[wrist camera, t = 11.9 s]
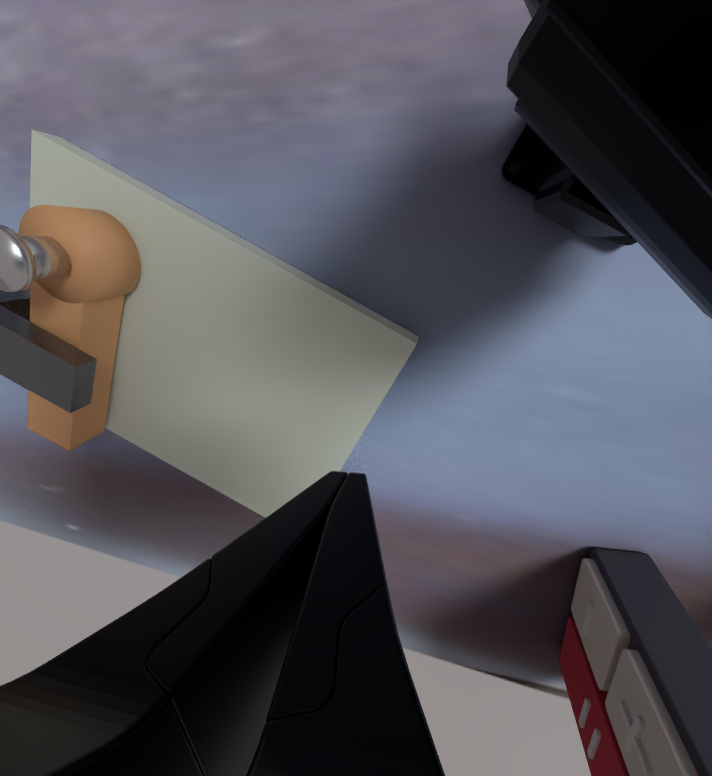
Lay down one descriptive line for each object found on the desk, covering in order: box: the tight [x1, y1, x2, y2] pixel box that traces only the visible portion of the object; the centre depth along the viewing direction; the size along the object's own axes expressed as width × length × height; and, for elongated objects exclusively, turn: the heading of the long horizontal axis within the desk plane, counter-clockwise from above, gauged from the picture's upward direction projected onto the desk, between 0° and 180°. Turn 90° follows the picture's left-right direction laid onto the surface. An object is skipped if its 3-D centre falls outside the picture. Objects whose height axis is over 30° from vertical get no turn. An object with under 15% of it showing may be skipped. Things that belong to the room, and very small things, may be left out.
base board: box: [30, 130, 419, 518], centre depth 21 cm, size 16×22×2 cm
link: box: [19, 205, 140, 451], centre depth 20 cm, size 14×4×2 cm, turn 154°
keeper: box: [0, 225, 97, 413], centre depth 19 cm, size 8×8×7 cm
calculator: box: [559, 548, 712, 776], centre depth 16 cm, size 11×4×15 cm, turn 4°
